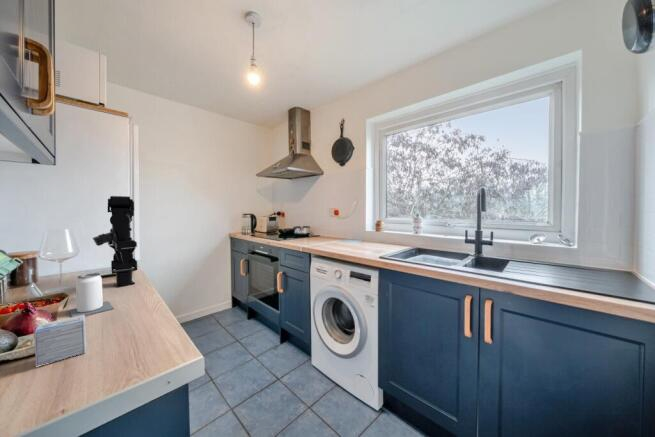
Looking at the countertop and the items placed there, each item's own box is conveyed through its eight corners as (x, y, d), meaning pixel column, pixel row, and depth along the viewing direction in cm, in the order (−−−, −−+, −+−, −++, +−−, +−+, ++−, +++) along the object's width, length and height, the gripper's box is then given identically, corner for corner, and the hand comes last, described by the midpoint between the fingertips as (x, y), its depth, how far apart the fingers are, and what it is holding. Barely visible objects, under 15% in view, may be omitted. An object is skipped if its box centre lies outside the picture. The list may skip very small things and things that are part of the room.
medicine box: (86, 346, 61) (85, 313, 61) (85, 353, 58) (84, 319, 58) (39, 359, 56) (37, 324, 55) (35, 369, 52) (33, 331, 52)
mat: (69, 310, 82) (69, 309, 82) (108, 302, 90) (108, 301, 90) (72, 319, 76) (72, 318, 76) (113, 309, 84) (113, 308, 83)
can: (106, 307, 84) (105, 274, 84) (82, 314, 78) (81, 279, 78) (97, 304, 87) (96, 272, 86) (72, 311, 81) (71, 276, 80)
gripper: (90, 226, 98) (92, 262, 98) (98, 228, 86) (100, 270, 87) (125, 224, 106) (126, 258, 107) (136, 226, 95) (137, 264, 95)
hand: (122, 262), depth 99 cm, fingers open, 9 cm apart
